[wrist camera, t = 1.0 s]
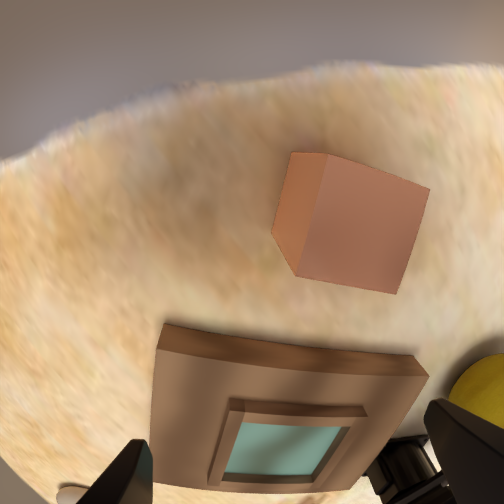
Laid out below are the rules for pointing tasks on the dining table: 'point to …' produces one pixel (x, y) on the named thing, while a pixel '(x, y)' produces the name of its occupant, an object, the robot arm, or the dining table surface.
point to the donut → (70, 494)
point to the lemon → (482, 389)
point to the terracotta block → (347, 222)
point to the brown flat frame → (272, 412)
